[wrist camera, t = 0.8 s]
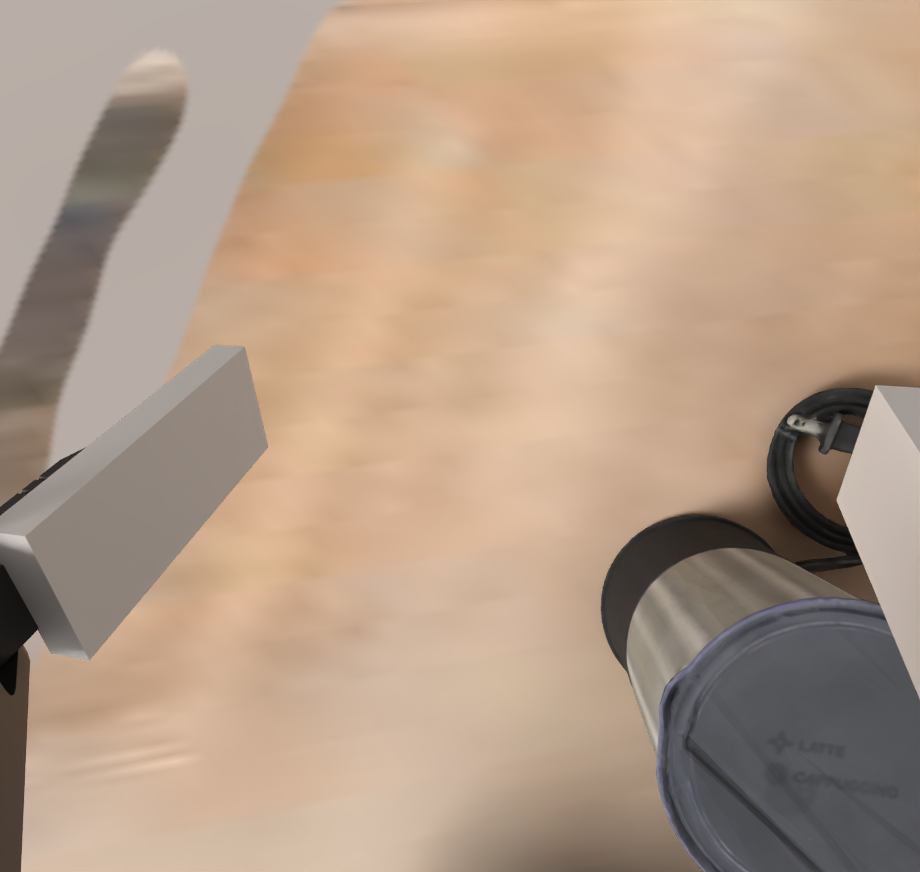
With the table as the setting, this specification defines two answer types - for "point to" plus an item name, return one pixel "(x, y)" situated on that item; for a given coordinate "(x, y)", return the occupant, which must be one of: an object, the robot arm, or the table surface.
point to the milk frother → (770, 683)
